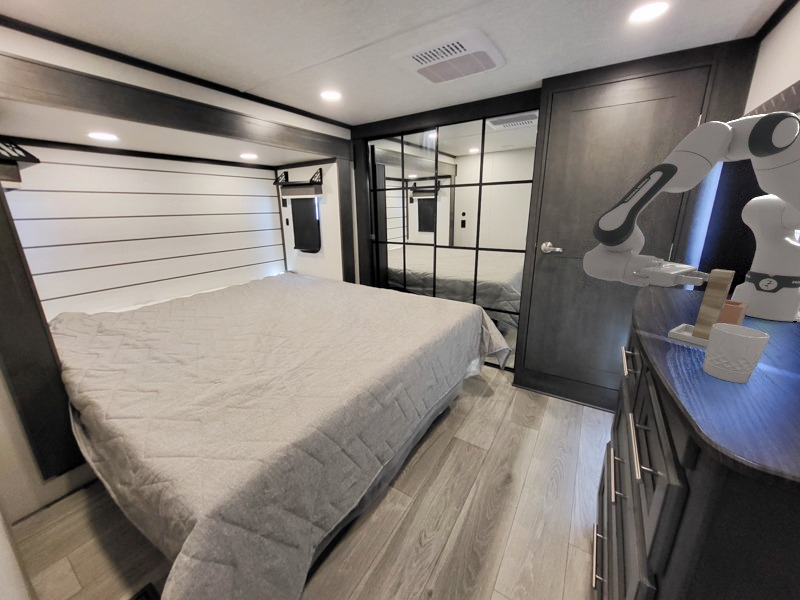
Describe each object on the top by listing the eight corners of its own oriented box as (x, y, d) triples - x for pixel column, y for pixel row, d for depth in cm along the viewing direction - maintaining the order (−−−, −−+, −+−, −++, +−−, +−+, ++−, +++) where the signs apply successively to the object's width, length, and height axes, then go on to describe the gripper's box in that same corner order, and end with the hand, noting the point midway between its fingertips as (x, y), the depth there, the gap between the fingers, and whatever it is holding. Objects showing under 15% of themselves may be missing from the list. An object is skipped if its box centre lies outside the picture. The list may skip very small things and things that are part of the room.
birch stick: (695, 335, 82) (715, 268, 77) (712, 340, 79) (735, 271, 74) (690, 338, 80) (711, 270, 75) (708, 342, 77) (731, 272, 72)
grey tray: (681, 331, 87) (683, 323, 86) (736, 345, 78) (739, 336, 78) (666, 339, 81) (669, 331, 81) (724, 355, 72) (727, 346, 72)
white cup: (764, 387, 59) (783, 339, 57) (716, 382, 61) (732, 335, 58) (731, 368, 67) (746, 325, 64) (689, 363, 68) (702, 321, 66)
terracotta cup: (703, 325, 92) (712, 297, 90) (738, 334, 86) (749, 303, 84) (695, 330, 88) (704, 300, 86) (731, 339, 82) (742, 307, 80)
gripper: (629, 262, 82) (699, 271, 70) (659, 257, 92) (723, 264, 81) (624, 285, 83) (691, 297, 72) (654, 278, 94) (716, 287, 83)
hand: (708, 280), depth 77 cm, fingers open, 8 cm apart
